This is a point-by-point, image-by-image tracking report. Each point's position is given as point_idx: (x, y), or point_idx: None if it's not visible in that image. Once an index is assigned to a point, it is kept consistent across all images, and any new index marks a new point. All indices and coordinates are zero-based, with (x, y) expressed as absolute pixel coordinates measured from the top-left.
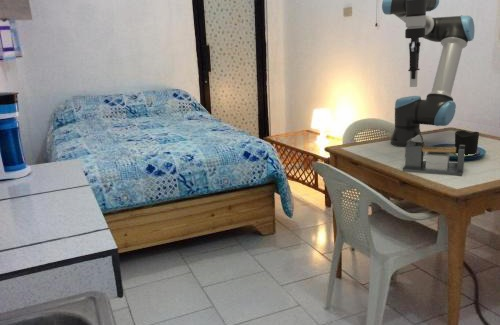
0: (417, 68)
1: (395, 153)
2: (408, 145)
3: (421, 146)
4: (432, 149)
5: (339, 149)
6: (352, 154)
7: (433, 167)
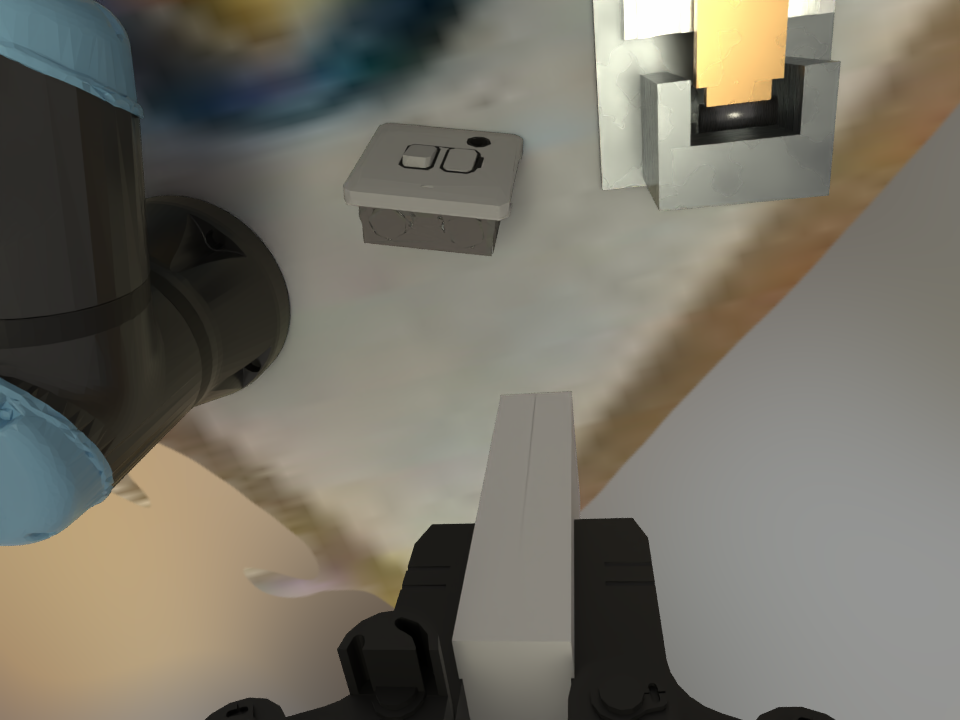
0: (421, 702)
1: (437, 304)
2: (794, 181)
3: (815, 66)
4: None
5: None
6: None
7: None
